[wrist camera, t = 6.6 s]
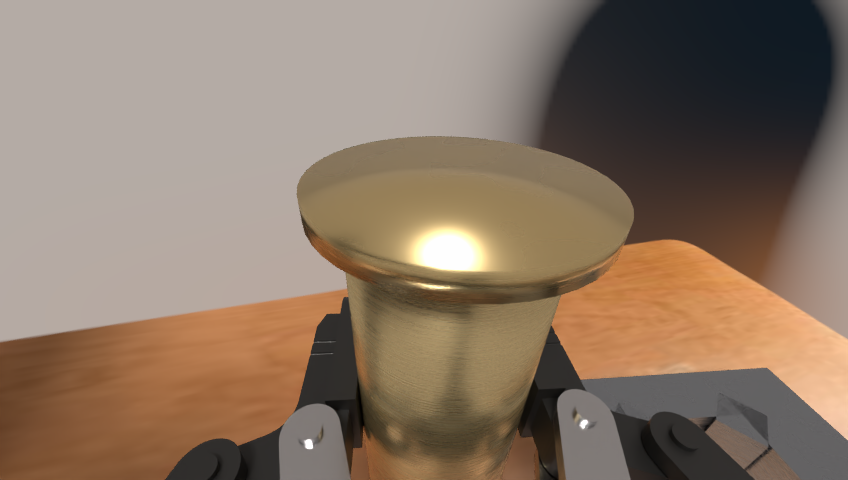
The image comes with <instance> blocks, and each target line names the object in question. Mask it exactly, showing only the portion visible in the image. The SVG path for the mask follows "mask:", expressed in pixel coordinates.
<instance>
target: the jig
mask: <svg viewBox="0 0 848 480" xmlns="http://www.w3.org/2000/svg"><path fill="white" fill-rule="evenodd" d="M581 382H582V384H583V386H584V387H585V389H586V391H587V392H589V393H591V394H593V395H595V396H596V397H598V398H599V399H600V400H601V401H603V402H604V403H605V404H606V406H607V407H608V408H609V409H610V410H612V411H614V412H617V413H620V414H624V415H628V416H632V417H636V418H639V419H643V420H647V421H649V420H650V419H651V418H652V416H653V415H654V414H656V413H658V412H664V411H665V412H672V413H676V414H679V415H681V416H683V417H685V418H687V419H689V420H690V421H692V422H693V423H695V424H696V425H697V426H698V427H700V428H701V429H702V430H703V431H704V432H705V433H706V434H707V435H708V436H709V437H710V438H711V439H713V440H714V441H715V442H716V443H717V444H718V445H719V446H720V447H721V448H722V449H723V450H724V451H725V452H726V453H727V454H728V455H729V456H731V457H732V458H733V459H734V460H735V461H736V462H737V463H738V464H739V465H740V466H741V467H742V468H743V469H744V470H745V471H746V472H747V473H748V474H750V475H751V476H752V477H753V478H754V479H755V480H848V440H846V439H845V438H844V437H843V436H842V435H841V434H840V433H839V432H838V431H836V430H835V429H834V428H833V427H832V426H831V425H830V424H829V423H828V422H826V421H825V420H824V419H823V418H822V417H821V416H820V415H819V414H818V413H817V412H815V411H814V410H813V409H812V408H811V407H810V406H809V405H808V404H807V403H805V402H804V401H803V400H802V399H801V398H800V397H799V396H798V395H797V394H795V393H794V392H793V391H792V390H791V389H790V388H789V387H788V386H787V385H785V384H784V383H783V382H782V381H781V380H780V379H779V378H778V377H777V376H775V375H774V374H773V373H772V372H771V371H770V370H769V369H768V368H756V369H741V370H725V371H710V372H695V373H679V374H664V375H649V376H633V377H618V378H602V379H587V380H581Z"/></svg>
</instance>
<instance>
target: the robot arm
mask: <svg viewBox="0 0 848 480" xmlns="http://www.w3.org/2000/svg"><path fill="white" fill-rule="evenodd" d="M363 427H364V424H363V416H362V407H361V399H360V390H359V382H358V373H357V365H356V357H355V348H354V340H353V331H352V323H351V314H350V306H349V297H344V298H343V302H342V308H341V313H340V314H327V315H326V316H325V317H324V319H323V320H322V321H321V323H320V324H319V325H318V326H317V330H316V334H315V338H314V344H313V346H312V350H311V356H310V358H309V362H308V366H307V370H306V374H305V378H304V382H303V386H302V390H301V394H300V398H299V402H298V405H297V407H296V409H295V411H294V413H293V414H292V415H291V416H290V417H289V418H288V420H287V421H286V422H285V424H283V425H282V426H281V427H280V428H278V429H277V430H275V431H274V432H272V433H270V434H268V435H265V436H263V437H260V438H258V439H255V440H253V441H250V442H247V443H245V444H242V445H240V446H237V445H236V444H235V443H234V442H232V441H231V440H228V439H223V438H222V439H213V440H209V441H206V442H204V443H202V444H200V445H198V446H197V447H195V448H193V449H192V450H191V451H189V452H188V453H187V454H186V455H185V456H184V457H183V458H182V459H181V460H180V461H179V462H178V464H177V465H176V466H175V467H174V469H173V470H172V471H171V473H170V474H169V475H168V477H167V478H166V479H165V480H351V476H350V474H351V465H352V455H353V448H362V441H363ZM518 430H519V433H520V436H521V437H533V438H534V441H535V444H536V447H537V449H536V451H535V455H534V463H535V480H755V479H754V478H753V477H752V476H751V475H750V474H748V473H747V472H746V471H745V470H744V469H743V468H742V467H741V466H740V465H739V464H738V463H737V462H736V461H735V460H734V459H733V458H732V457H731V456H729V455H728V454H727V453H726V452H725V451H724V450H723V449H722V448H721V447H720V446H719V445H718V444H717V443H716V442H715V441H714V440H713V439H711V438H710V437H709V436H708V435H707V434H706V433H705V432H704V431H703V430H702V429H701V428H700V427H698V426H697V425H696V424H695V423H693V422H692V421H690V420H689V419H687V418H685V417H683V416H681V415H679V414H676V413H672V412H665V411H664V412H658V413H656V414H654V415H653V416H652V418H651V419H650V420H649V421H647V420H643V419H639V418H636V417H632V416H628V415H624V414H620V413H617V412H614V411H612V410H610V409H609V408H608V407H607V406H606V404H605V403H604V402H603V401H601V400H600V399H599V398H598V397H596V396H595V395H593V394H591V393H589V392H587V391H586V389H585V387H584V386H583V384H582V382H581V380H580V378H579V376H578V375H577V373H576V371H575V369H574V367H573V365H572V363H571V361H570V360H569V358H568V356H567V354H566V352H565V350H564V348H563V346H562V345H561V344H560V341H559V339H558V337H557V335H556V334H555V331H554V329H553V328H552V326H551V327H550V330H549V333H548V336H547V339H546V342H545V345H544V348H543V351H542V354H541V357H540V361H539V364H538V367H537V370H536V373H535V376H534V379H533V382H532V385H531V388H530V391H529V394H528V397H527V400H526V403H525V406H524V409H523V412H522V415H521V418H520V421H519V424H518Z"/></svg>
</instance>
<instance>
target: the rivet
mask: <svg viewBox="0 0 848 480" xmlns="http://www.w3.org/2000/svg"><path fill="white" fill-rule="evenodd" d="M297 198H298V204H299V209H300V214H301V220H302V224H303V228H304V232H305V235H306V236H307V238H308V240H309V241H310V243H311V245H312V246H313V247H314V248H315V249H316V250H317V251H318V252H319V253H320V254H321V255H322V256H323V257H324V258H325V259H327V260H328V261H329V262H331V263H332V264H333V265H335V266H336V267H337V268H339V269H341V270H343V271H344V272H346V280H347V289H348V297H349V306H350V314H351V323H352V331H353V340H354V348H355V357H356V365H357V373H358V382H359V390H360V399H361V407H362V416H363V424H364V433H365V442H366V450H367V459H368V467H369V476H370V480H500V479H501V476H502V473H503V470H504V467H505V464H506V461H507V458H508V455H509V452H510V449H511V446H512V443H513V440H514V437H515V434H516V431H517V427H518V424H519V421H520V418H521V415H522V412H523V409H524V406H525V403H526V400H527V397H528V394H529V391H530V388H531V385H532V382H533V379H534V376H535V373H536V370H537V367H538V364H539V361H540V357H541V354H542V351H543V348H544V345H545V342H546V339H547V336H548V333H549V330H550V327H551V324H552V321H553V318H554V315H555V312H556V309H557V306H558V303H559V300H560V297H561V295H562V294H565V293H568V292H571V291H574V290H577V289H579V288H581V287H583V286H585V285H587V284H589V283H591V282H593V281H595V280H597V279H598V278H599V277H601V276H602V275H603V274H605V273H606V272H607V271H609V269H610V268H611V267H612V266H613V264H614V263H615V262H616V261H617V259H618V257H619V255H620V252H621V250H622V247H623V245H624V242H625V240H626V238H627V235H628V233H629V230H630V228H631V225H632V223H633V220H634V210H633V207H632V204H631V201H630V199H629V198H628V197H627V195H626V194H625V192H624V191H623V190H622V189H621V188H620V187H619V186H618V185H617V184H616V183H614V182H613V181H611V180H610V179H609V178H607V177H606V176H604V175H603V174H601V173H599V172H598V171H596V170H594V169H592V168H590V167H588V166H586V165H584V164H582V163H579V162H576V161H574V160H572V159H569V158H566V157H564V156H561V155H557V154H554V153H551V152H548V151H544V150H541V149H537V148H533V147H528V146H524V145H519V144H514V143H508V142H502V141H495V140H488V139H479V138H467V137H445V136H443V137H442V136H437V137H436V136H428V137H427V136H426V137H407V138H396V139H388V140H381V141H376V142H370V143H366V144H361V145H357V146H353V147H350V148H346V149H343V150H341V151H338V152H336V153H333V154H331V155H329V156H327V157H324V158H323V159H321V160H319V161H318V162H316V163H315V164H313V165H312V166H311V167H310V168H309V169H307V170H306V172H305V173H304V174H303V176H302V177H301V179H300V181H299V183H298V186H297Z"/></svg>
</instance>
